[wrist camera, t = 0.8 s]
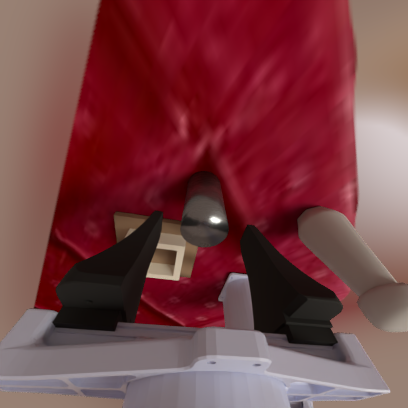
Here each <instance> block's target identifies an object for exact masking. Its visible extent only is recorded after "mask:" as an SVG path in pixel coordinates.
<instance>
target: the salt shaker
mask: <svg viewBox="0 0 408 408" xmlns="http://www.w3.org/2000/svg"><path fill="white" fill-rule="evenodd" d="M297 221H298V236H299V238H300V240H301V241H302V242H303V243H304V244H305V245H306V246H307V247H308V248H309V249H310V250H311V251H312V252H313V253H314V254H315V255H316V256H317V257H318V258H319V259H320V260H321V261H322V262H323V263H324V264H325V265H327V266H328V267H329V268H330V269H331V270H332V271H333V272H334V273H335V274H336V275H337V276H338V277H339V278H340V279H341V280H342V281H343V282H344V283H345V284H346V285H347V286H348V287H349V288H350V289H351V290H353V291H354V292H355V293H356V294H357V295H358V296H359V299H358V301H357V303H358V306H359V308H360V309H361V311H362V312H363V314H364V315H365V317H366V318H367V319H368V320H369V321H370V322H371V323H372V324H373V325H374V326H375V327H376V328H378V329H381V330H383V331H388V332H406V331H408V284H405V283H397V281H396V280H395V279H394V278H393V276H392V275H391V274H390V273H389V272H388V271H387V269H386V268H385V267H384V265H383V264H382V263H381V262H380V260H379V259H378V258H377V257H376V255H375V254H374V253H373V252H372V250H371V249H370V248H369V247H368V245H367V244H366V243H365V241H364V240H363V239H362V238H361V236H360V235H359V234H358V232H357V231H356V230H355V228H354V227H353V226H352V224H351V223H350V222H349V221H348V219H347V218H346V217H345V215H343V214H342V213H340V212H337V211H335V210H332V209H328V208H325V207H322V206H318V207H314V208H310V209H306V210H305V211H304V212H303V213H302V214H301V216H300V217H299V218H298V219H297Z"/></svg>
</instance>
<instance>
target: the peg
mask: <svg viewBox="0 0 408 408" xmlns="http://www.w3.org/2000/svg"><path fill="white" fill-rule="evenodd" d="M228 230H229V228H228V222H227V217H226V212H225V207H224V202H223V197H222V192H221V187H220V182H219V179H218V178H217V177H216V176H215V175H214V174H213V173H210V172H207V171H201V172H197V173H195V174H194V175H193V176H192V177H191V178H190V179H189V182H188V186H187V192H186V198H185V204H184V210H183V215H182V221H181V227H180V231H181V235H182V237H183V238H184V239H185V240H186V241H187V242H188V243H190V244H192V245H194V246H198V247H211V246H214V245H217V244H219V243H220V242H222V241H223V240H224V239H225V238H226V236H227V234H228Z"/></svg>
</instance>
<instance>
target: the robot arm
mask: <svg viewBox="0 0 408 408" xmlns="http://www.w3.org/2000/svg"><path fill="white" fill-rule="evenodd" d="M162 219H163V212H161V211H154V212H153V213H152V214H151V215H150V217H149V218H148V219H147V220H146V221H145V222H144V223H143V224H141V225H140V226H139V227H138V228H137V229H136V230H135V231H133V232H132V233H131V234H130V235H128V236H127V237H126V238H124V239H123V240H121V241H120V242H118V243H117V244H115V245H113V246H112V247H110V248H108V249H106V250H105V251H103V252H101V253H99V254H97V255H95V256H93V257H90V258H88V259H86V260H83V261H81V262H79V263H76V264H75V265H74V266H73V267H72V268H71V269H70V270H69V271H68V273H67V274H66V275H65V276H64V278H63V279H62V280H61V282H60V283H59V284H58V286H57V287H56V293H57V296H58V298H59V299H60V301H61V303H62V305H63V307H62V308H61V310H60V311H59V313H58V312H56V311H54V310H45V309H32V308H30V309H27V311H26V312H25V313H24V314H23V315H22V317H21V318H20V319H19V320H18V322H17V323H16V324H15V325H14V326H13V328H12V329H11V330H10V331H9V333H8V334H7V335H6V336H5V338H4V339H3V340H2V341H1V342H0V391H4V392H6V391H7V392H30V393H49V394H62V395H74V396H86V397H98V398H111V399H123V400H124V403H123V406H122V408H313V403H312V401H327V400H328V401H331V400H332V401H334V400H335V401H336V400H344V401H345V400H346V401H358V400H362V399H366V398H370V397H374V396H378V395H382V394H386V393H390V389H389V388H388V386H387V385H386V383H385V382H384V380H383V378H382V377H381V375H380V374H379V372H378V371H377V369H376V368H375V366H374V364H373V363H372V361H371V360H370V358H369V357H368V355H367V353H366V352H365V350H364V349H363V347H362V346H361V344H360V342H359V341H358V339H357V338H356V336H355V335H354V334H351V333H334V334H333V332H332V330H331V329H330V328H332V327H333V326H332V324H331V322H330V320H331V319H332V318H334V317H335V316H336V315H337V314H339V313H340V312H341V311H342V309H343V305H342V304H341V302H340V301H339V299H338V298H337V296H336V294H335V293H334V292H333V291H331V290H330V289H328V288H326V287H325V286H323V285H321V284H320V283H318V282H316V281H315V280H313V279H312V278H310V277H309V276H307V275H306V274H305V273H303V272H302V271H301V270H299V269H298V268H297V267H295V266H294V265H293V264H292V263H290V262H289V261H288V260H287V259H286V258H285V257H284V256H282V255H281V254H280V253H279V252H278V251H277V250H276V249H275V248H274V247H273V246H272V245H271V244H270V242H269V241H268V240H267V239H266V238H265V237H264V236H263V235H262V233H261V232H260V231H259V230H258V229H257V228H256V227H255V226H254V225H247V227H246V229H245V231H244V234H243V236H242V238H241V240H240V245H241V253H242V257H243V261H244V265H245V268H246V272H247V274H238V273H230V274H229V276H228V278H227V281H226V283H225V285H224V287H223V289H222V291H221V293H220V296H219V298H218V300H219V301H223V308H224V318H225V327H205V328H191V327H177V326H164V325H150V324H137V323H134V322H135V318H136V314H137V310H138V306H139V302H140V298H141V294H142V290H143V287H144V283H145V279H146V276H147V272H148V269H149V266H150V263H151V261H152V258H153V255H154V253H155V250H156V248H157V245H158V242H159V239H160V235H161V231H162Z"/></svg>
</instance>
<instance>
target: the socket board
mask: <svg viewBox="0 0 408 408" xmlns="http://www.w3.org/2000/svg"><path fill="white" fill-rule="evenodd" d="M149 217H150V216H143V215H137V214H130V213H123V212H115V214H114V222H115V230H116V237H117V243H118V242H120V241H121V240H123V239H124V238H126V237H127V236H128V235H130V234H131V233H132V232H133V231H135V230H136V229H137V228H138V227H139V226H140V225H141V224H143V223H144V222H145V221H146V220H147V219H148V218H149ZM180 227H181V221H177V220H170V219H164V218H163V219H162V231H161V235H160V239H159V242H158V245H157V248H156V250H155V253H154V255H153V258H152V261H151V263H150V266H149V269H148V272H147V276H146V277H151V278H160V279H169V280H179V277H189V278H190V276H191V272H192V268H193V264H194V260H195V256H196V252H197V248H198V246H194V245H192V244H190V243H188V242H187V241H186V240H185V239H184V238H183V237H182V235H181V231H180Z"/></svg>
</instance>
